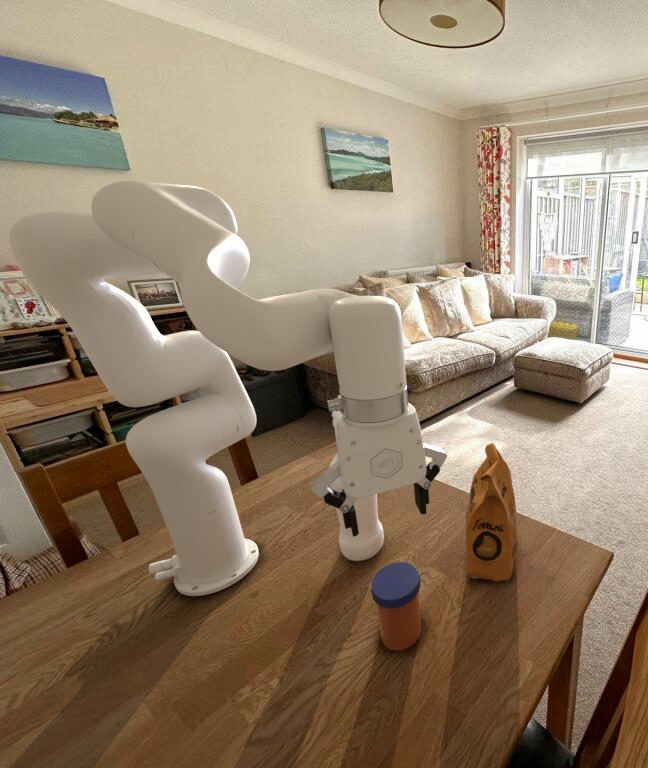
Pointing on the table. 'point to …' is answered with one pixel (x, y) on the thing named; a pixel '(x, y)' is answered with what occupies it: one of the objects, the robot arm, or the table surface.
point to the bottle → (359, 522)
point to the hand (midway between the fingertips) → (388, 518)
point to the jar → (400, 625)
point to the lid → (395, 585)
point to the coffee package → (491, 520)
